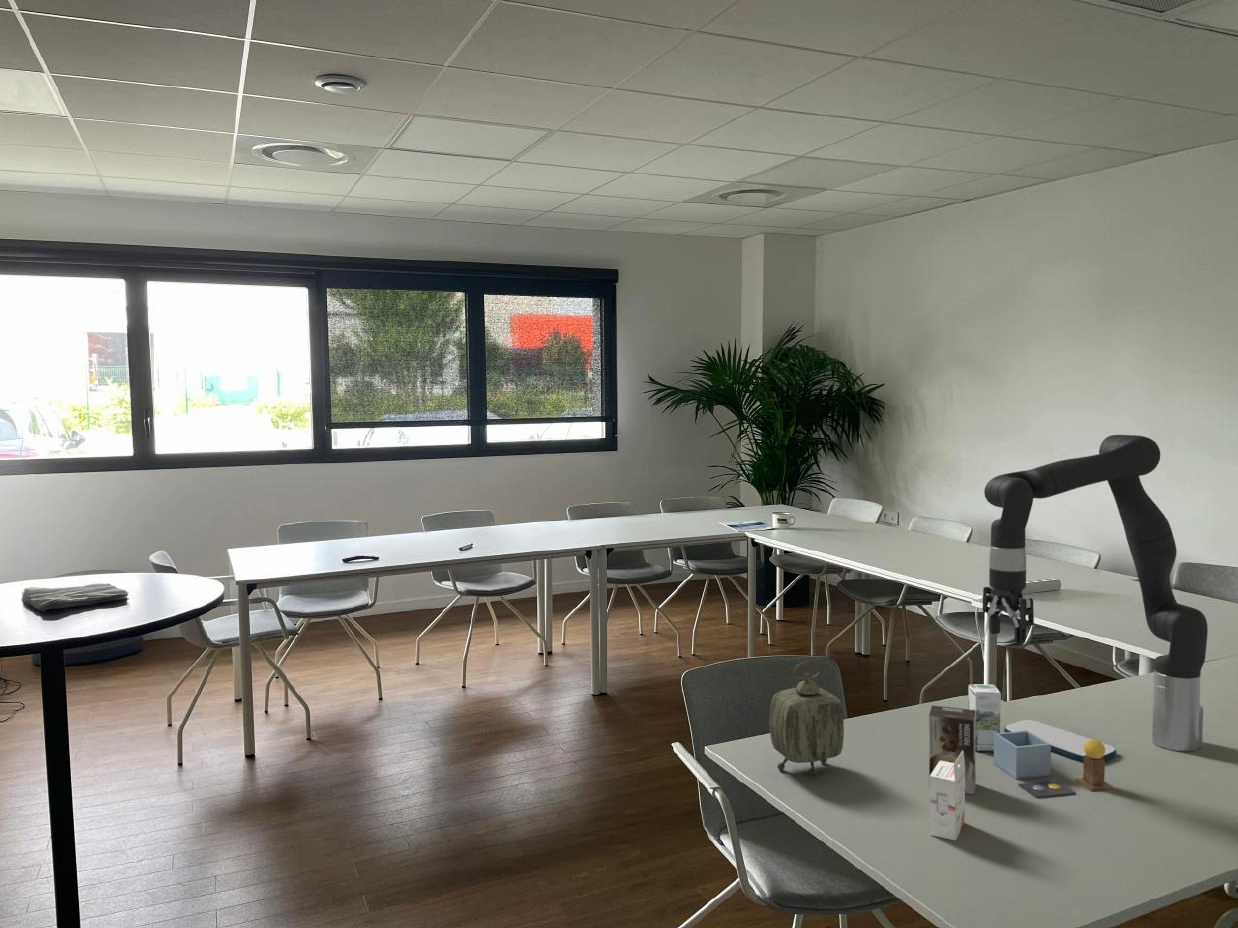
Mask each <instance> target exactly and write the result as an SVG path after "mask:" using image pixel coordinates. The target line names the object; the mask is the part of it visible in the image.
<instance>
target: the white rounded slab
mask: <svg viewBox="0 0 1238 928" xmlns="http://www.w3.org/2000/svg"><path fill="white" fill-rule="evenodd" d="M1003 731H1004V732H1003V733H1005V732H1016V731H1029V732H1031V733H1032V734H1034V735H1036V736H1038V737H1039V738H1041V739H1043V740H1044V741H1046V742H1048V743H1049V744H1051V753H1053V754H1056V755H1059V756H1061V757H1064V758H1067V759H1071V760H1073V761H1076V762H1078V763H1079V762H1080V763H1082V764H1084V755H1086V753H1085V751H1084V744H1085V743H1086V741H1088V740H1090V739H1091V738H1089V737H1087V736H1084V735H1081V734H1077V733H1074V732H1072V731H1070V730H1069V731H1068V730H1065V729H1063V728H1059V727H1056V726H1054V725H1049V724H1046V723H1044V722H1041V721H1036V720H1030V719H1022V720H1018V721H1014V722H1012V723H1009V724H1007V725H1005V726H1004V729H1003ZM1100 742H1101V743H1102V744H1103V745H1104V747H1105V754H1104V756H1103V757H1102V758H1103V759H1105V762H1108V761H1110V760H1113V759H1115V758H1116V757H1117V749H1116V748H1115V747H1114V746H1112V745H1110V744H1108V743H1106V742H1102V741H1100Z"/></svg>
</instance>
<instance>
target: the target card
mask: <svg viewBox="0 0 1238 928" xmlns="http://www.w3.org/2000/svg"><path fill="white" fill-rule="evenodd" d="M1018 787H1020V788H1021V789H1022V790H1024V791H1026V793H1028V794H1030V795H1031V796H1032V797H1034V798H1036V799H1041V798H1052V797H1059V796H1060V797H1061V796H1070V795H1076V793H1077V792H1076V791H1075V790H1073V789H1071V788H1070V787H1068V786H1067V785H1065V784H1064V783H1062V782H1061V781H1059V780H1057V779H1052V780H1043V781H1034V782H1032V781H1031V782H1024V783H1023V782H1022V783H1018Z"/></svg>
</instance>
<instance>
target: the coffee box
mask: <svg viewBox="0 0 1238 928" xmlns="http://www.w3.org/2000/svg"><path fill="white" fill-rule="evenodd" d="M928 747H929V748H928V749H929V750H928V751H929V752H928V753H929V754H928V756H929V757H928V761H929V763H928V771H929V772H928V774H929V775H928V776H929V777H928V779H929V780H928V781H929V782H928V784H929V785H928V788H929V789H930V775H931V773H932V772H933V770H934V769H935V767H936V766H937V764H938V763H939V761H946V762H951V763H955V762H956V760H957V758H958V757H959V755H960V754H961V752H962V750H963V751H964V761H965V794H969V795H975V791H976V784H977V783H976V778H977V777H976V751H975V710H969V709H968V708H959V707H951V706H950V707H949V706H942V705H941V706H940V705H931V708H930V711H929V713H928ZM959 764H961V762H959Z"/></svg>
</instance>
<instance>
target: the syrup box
mask: <svg viewBox="0 0 1238 928" xmlns="http://www.w3.org/2000/svg"><path fill="white" fill-rule="evenodd" d="M1001 701H1002V693H1001V692H1000V691H999V688H997V687H996V685H994V684H984V683H983V684H981V683H980V684H979V683H978V684H973V683H972V684H968V703H967V704H968V705H967V706H968V707H967V709H969V710H975V752H993V753H994V734H995V733H1001V708H1002V707H1001V706H1002V704H1001V703H1002V702H1001Z"/></svg>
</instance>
